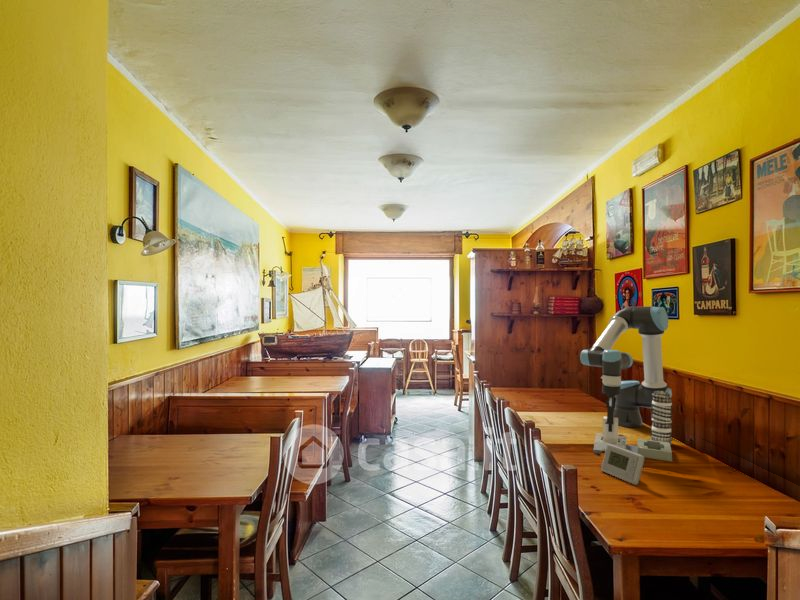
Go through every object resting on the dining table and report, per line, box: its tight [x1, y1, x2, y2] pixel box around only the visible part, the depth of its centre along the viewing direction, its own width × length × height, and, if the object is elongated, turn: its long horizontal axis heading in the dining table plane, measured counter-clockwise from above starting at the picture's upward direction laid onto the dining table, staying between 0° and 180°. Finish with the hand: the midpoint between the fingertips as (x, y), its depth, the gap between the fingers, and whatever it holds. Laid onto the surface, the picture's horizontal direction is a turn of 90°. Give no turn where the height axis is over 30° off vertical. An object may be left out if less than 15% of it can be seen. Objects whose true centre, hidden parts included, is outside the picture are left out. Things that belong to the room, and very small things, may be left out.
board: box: [592, 443, 673, 462], centre depth 202 cm, size 30×16×2 cm, turn 63°
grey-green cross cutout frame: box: [637, 438, 673, 462], centre depth 198 cm, size 12×15×4 cm
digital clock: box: [600, 444, 646, 486], centre depth 175 cm, size 16×9×11 cm, turn 14°
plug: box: [602, 415, 619, 444], centre depth 206 cm, size 6×4×15 cm
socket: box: [593, 432, 627, 452], centre depth 206 cm, size 12×15×4 cm
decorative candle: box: [650, 391, 674, 446], centre depth 214 cm, size 9×9×25 cm
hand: (610, 436), depth 206 cm, fingers open, 5 cm apart
